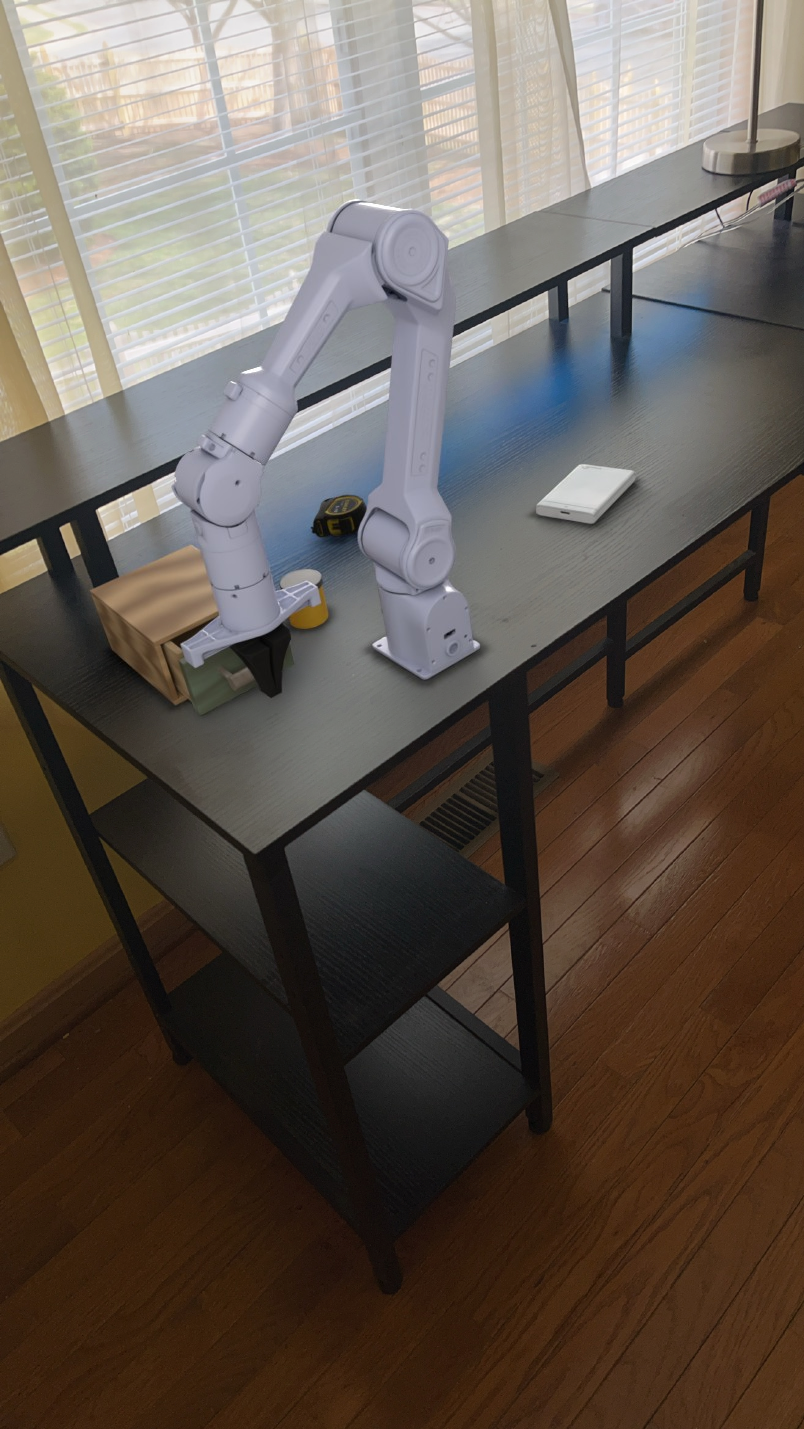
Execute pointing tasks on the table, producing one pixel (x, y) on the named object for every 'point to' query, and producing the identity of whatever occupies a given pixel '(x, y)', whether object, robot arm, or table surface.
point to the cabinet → (156, 612)
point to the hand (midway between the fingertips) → (271, 691)
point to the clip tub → (309, 614)
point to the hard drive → (586, 493)
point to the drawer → (210, 673)
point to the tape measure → (339, 516)
